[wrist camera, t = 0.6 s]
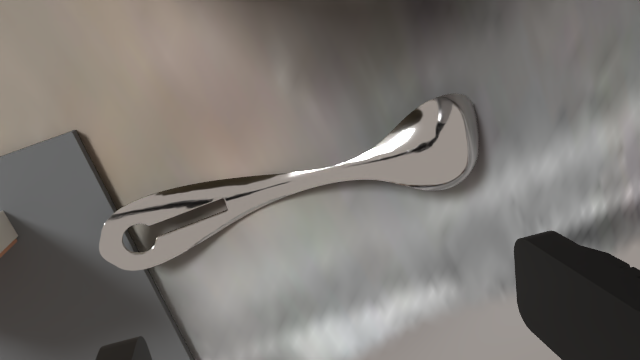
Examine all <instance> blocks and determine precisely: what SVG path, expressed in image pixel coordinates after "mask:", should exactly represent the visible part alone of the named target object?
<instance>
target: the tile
mask: <svg viewBox="0 0 640 360" xmlns="http://www.w3.org/2000/svg"><path fill="white" fill-rule="evenodd" d="M17 237H18V234H17V233H16V231H15V230H14V228H13V226H12V225H11V223H10V221H9V220H8V218H7V216H6V215H5V213H4V211H0V258H1V257H2V256H3V255H4V254H5V253H6V252H7V251H8V250H9V249H10V248H11V247H12V246H13V245H14V244H15V243H16V242H17V239H16V238H17Z"/></svg>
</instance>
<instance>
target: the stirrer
mask: <svg viewBox="0 0 640 360" xmlns="http://www.w3.org/2000/svg"><path fill="white" fill-rule="evenodd" d="M478 153H479V132H478V124H477V118H476V113H475V110H474V106H473V104H472V102H471V101H470V99H469V98H468V97H467V96H465V95H462V94H446V95H442V96H439V97H436V98H434V99H431V100H429V101H427V102H426V103H424V104H422V105H421V106H419V107H418V108H416V109H415V110H414V111H412V112H411V113H410V114H409V115H408V116H407V117H406V118H405V119H403V120H402V121H401V122H400V123H399V124H398V125H397V126H396V127H395V128H394V129H393V130H392V131H391V132H390V133H389V134H388V135H387V136H386V137H385V138H384V139H383V140H382V141H381V142H380V143H379V144H378V145H376V146H375V147H374V148H372V149H371V150H369V151H368V152H366V153H364V154H363V155H361V156H359V157H357V158H355V159H352V160H350V161H347V162H345V163H342V164H338V165H335V166H331V167H327V168H322V169H316V170H310V171H303V172H294V173H284V174H272V175H260V176H249V177H240V178H231V179H223V180H216V181H209V182H203V183H197V184H192V185H187V186H182V187H177V188H173V189H169V190H165V191H162V192H158V193H155V194H152V195H149V196H146V197H143V198H141V199H138V200H136V201H133V202H131V203H129V204H127V205H125V206H124V207H122V208H120V209H119V210H117V211H116V212H115V213H113V214H112V215H111V216H110V217H109V218H108V219H107V220H106V222H105V223H104V225H103V227H102V230H101V235H100V240H99V251H100V254H101V256H102V257H103V258H104V259H105V260H107V261H108V262H110V263H112V264H113V265H115V266H117V267H119V268H121V269H124V270H130V271H136V270H143V269H147V268H151V267H154V266H157V265H159V264H162V263H164V262H166V261H168V260H170V259H172V258H174V257H176V256H178V255H180V254H182V253H184V252H185V251H187V250H189V249H191V248H192V247H194V246H196V245H197V244H199V243H201V242H202V241H204V240H206V239H207V238H209V237H211V236H212V235H214V234H215V233H217V232H219V231H220V230H222V229H224V228H225V227H227V226H228V225H230V224H232V223H233V222H235V221H237V220H239V219H240V218H242V217H244V216H246V215H247V214H249V213H251V212H253V211H255V210H257V209H259V208H261V207H263V206H265V205H267V204H269V203H271V202H274V201H276V200H278V199H281V198H283V197H286V196H289V195H291V194H294V193H297V192H300V191H303V190H307V189H310V188H314V187H317V186H321V185H325V184H330V183H335V182H342V181H350V180H380V181H386V182H391V183H395V184H399V185H403V186H407V187H411V188H416V189H421V190H430V191H435V190H443V189H447V188H450V187H453V186H455V185H457V184H459V183H460V182H462V181H463V180H464V179H465V178H466V177H467V176H468V175H469V174H470V173H471V171H472V170H473V168H474V166H475V164H476V161H477V158H478ZM222 198H223V199H224V201H225V203H226V206H227V210H225V211H222V212H219V213H217V214H214V215H212V216H209V217H206V218H204V219H201V220H198V221H196V222H193V223H191V224H188V225H185V226H183V227H180V228H178V229H175V230H172V231H170V232H167V233H165V234H162V235H159V236H157V237H156V241H155V243H154V245H153V246H152V247H151V248H150V249H149V250H147V251H144V252H138V253H137V252H132V251H130V250H128V249H127V248H126V247H125V245H124V243H123V234H124V232H125V231H126V230H127V229H128V228H129V227H130V226H132V225H135V224H145V225H148V226H151V225H153V224H156V223H159V222H161V221H164V220H167V219H169V218H172V217H175V216H177V215H180V214H182V213H185V212H188V211H190V210H193V209H196V208H198V207H201V206H204V205H206V204H209V203H212V202H214V201H217V200H220V199H222Z"/></svg>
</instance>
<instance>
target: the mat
mask: <svg viewBox="0 0 640 360" xmlns="http://www.w3.org/2000/svg"><path fill="white" fill-rule="evenodd" d="M0 211H4V213H5V215H6V216H7V218H8V220H9V221H10V223H11V225H12V226H13V228H14V230H15V231H16V233H17V234H18V237H17V238H16V239H17V242H16V243H15V244H14V245H13V246H12V247H11V248H10V249H9V250H8V251H7V252H6V253H5V254H4V255H3V256H2V257H1V258H0V360H95V359H96V357H97V354H98V352H99V349H100V348H101V347H102V346H104V345H108V344H112V343H115V342H119V341H123V340H127V339H131V338H135V337H139V336H142V337H143V338H144V339H145V341H146V343H147V346H148V348H149V351H150V354H151V357H152V360H194V359H193V357H192V355H191V353H190V351H189V349H188V347H187V345H186V343H185V341H184V339H183V337H182V335H181V333H180V331H179V330H178V328H177V326H176V324H175V322H174V320H173V318H172V316H171V314H170V312H169V310H168V308H167V306H166V304H165V302H164V300H163V299H162V297H161V295H160V293H159V291H158V289H157V287H156V285H155V283H154V281H153V279H152V277H151V275H150V273H149V271H148V270H147V269H143V270H136V271H130V270H124V269H121V268H119V267H117V266H115V265H113V264H112V263H110V262H108V261H107V260H105V259H104V258H103V257H102V256H101V254H100V251H99V240H100V235H101V230H102V227H103V225H104V223H105V222H106V220H107V219H108V218H109V217H110V216H111V215H112V214H113V213H115V212H116V211H117V210H116V208H115V206H114V204H113V202H112V200H111V198H110V196H109V194H108V192H107V190H106V188H105V186H104V184H103V182H102V181H101V179H100V177H99V175H98V173H97V171H96V169H95V167H94V165H93V163H92V161H91V159H90V157H89V155H88V153H87V151H86V150H85V148H84V146H83V144H82V142H81V140H80V138H79V136H78V134H77V132H76V130H73V131H71V132H68V133H65V134H62V135H59V136H57V137H54V138H51V139H48V140H45V141H42V142H40V143H37V144H34V145H31V146H28V147H26V148H23V149H20V150H17V151H14V152H12V153H9V154H6V155H3V156H0ZM123 243H124V245H125V247H126V248H127V249H128V250H130V251H132V252H137V253H138V250H137V248H136V246H135V244H134V242H133V241H132V239H131V237H130V235H129V233H128V231H127V230H126V231H125V232H124V234H123Z"/></svg>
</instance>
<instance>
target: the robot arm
mask: <svg viewBox="0 0 640 360" xmlns="http://www.w3.org/2000/svg"><path fill="white" fill-rule="evenodd" d="M514 259H515V275H516V291H517V304H518V308H519V312H520V314H521V317H522V319H523V321H524V322H525V324H526V326H527V327H528V328H529V329H530V330H531V331H532V332H533V333H534V334H535V335H536V336H537V337H538V338H539V339H540V340H542V342H544V343H545V344H546V345H547V346H548V347H549V348H550V349H551V350H552V351H553V352H554V353H555V354H557V355H558V356H559V357H560V358H561V359H562V360H640V270H638V269H637V268H634V267H630V265H629V264H627V263H625V262H624V261H622V260H620V259H618V258H616V257H614V256H612V255H611V254H609V253H605V252H602V251H598V250H595V249H591V248H588V247H584V246H580V245H578V244H576V243H575V242H573V241H571V240H569V239H567V238H566V237H564V236H562V235H560V234H559V233H557V232H555V231H547V232H543V233H539V234H535V235H531V236H528V237H524V238H520V239H518V240H517V241H516V243H515V246H514ZM95 360H152V357H151V354H150V351H149V348H148V346H147V343H146V341H145V339H144V338H143V337H142V336H139V337H135V338H131V339H127V340H123V341H119V342H115V343H112V344H108V345H104V346H102V347H101V348H100V349H99V352H98V354H97V357H96V359H95Z"/></svg>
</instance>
